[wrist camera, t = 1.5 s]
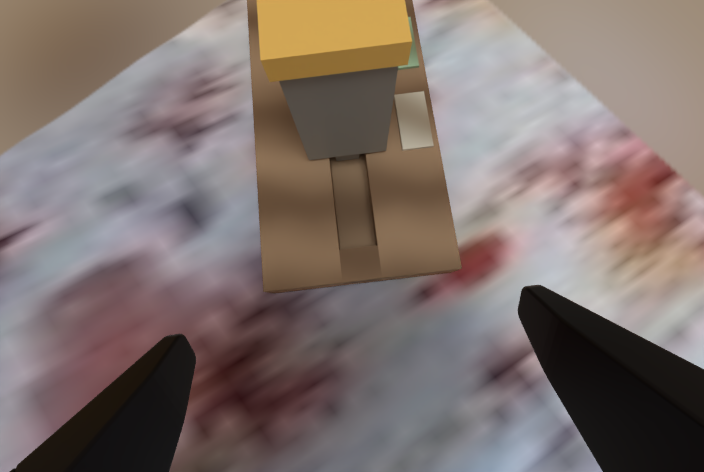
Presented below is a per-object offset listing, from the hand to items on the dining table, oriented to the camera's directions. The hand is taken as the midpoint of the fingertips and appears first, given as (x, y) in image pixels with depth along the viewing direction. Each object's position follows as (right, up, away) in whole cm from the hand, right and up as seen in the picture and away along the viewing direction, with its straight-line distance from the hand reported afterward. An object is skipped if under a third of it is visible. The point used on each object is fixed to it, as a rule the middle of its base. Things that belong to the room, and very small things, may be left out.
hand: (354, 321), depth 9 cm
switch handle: (-1, +9, +14) cm, 17 cm away
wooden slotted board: (-1, +10, +16) cm, 19 cm away
